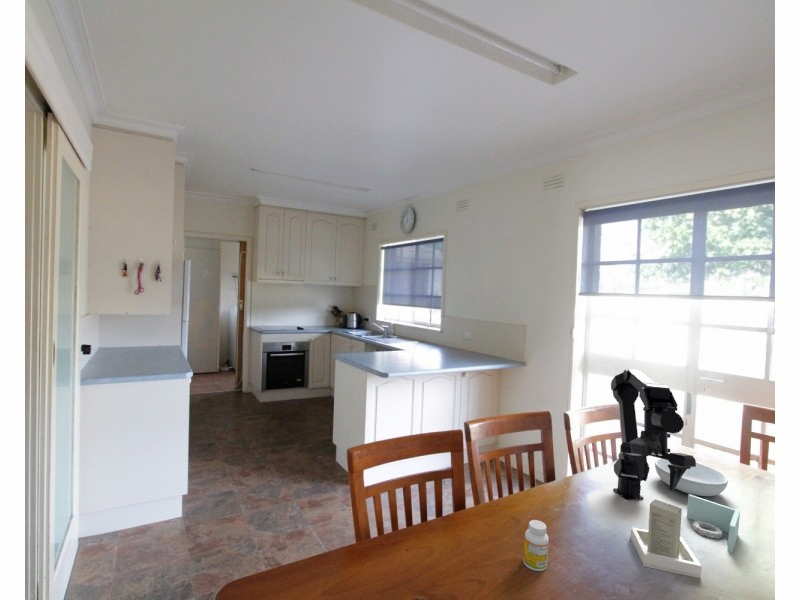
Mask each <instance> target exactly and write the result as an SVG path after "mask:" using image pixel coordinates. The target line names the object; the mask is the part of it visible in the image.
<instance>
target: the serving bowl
mask: <svg viewBox="0 0 800 600" xmlns="http://www.w3.org/2000/svg"><path fill="white" fill-rule="evenodd" d="M670 464H671V463H670V462H669V461H668V460H666V459H662V458H657V459H656V460H654V467H655V471H656V473H657V475H658V477H659V478H660V479H661V481H663V482H664V483H665V484H667V485H668V486H670V469H669V467H668V465H670ZM728 483H729V478H728V477H727V476H726V475H725V474H723V473H722V472H721V471H719V470H717V469H715V468H713V467H710V466H709V465H708V466H707V465H705V464H703V463H699V462H696V467H691V469H687V470H686V471H685V473H684V474H683V475H682V477H681V479H680V480H679V482H678V484H677V486H676V488H675V490H678V491H681V492H683V493H686V494H688V495H689V494H690V495H693V496H698V497H699V496H700V497H714V496H718V495H720V494H721V493H723V492H724V491H725V490H726V488H727V486H728Z"/></svg>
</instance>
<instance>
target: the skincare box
mask: <svg viewBox="0 0 800 600" xmlns="http://www.w3.org/2000/svg"><path fill="white" fill-rule="evenodd" d="M648 515H649V516H648V547H647V550H648V551H650V552H652V553H654V554H657V555H662V556H667V557H672V558H678V556H679V547H680V537H681V530H682V508H681V507H679V506H677V505H676V506H675V505H672V504H670V503H667V502H665V501H662V500H658V499H655V498H654V500H652V501H651V502H650V503H649V514H648Z"/></svg>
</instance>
